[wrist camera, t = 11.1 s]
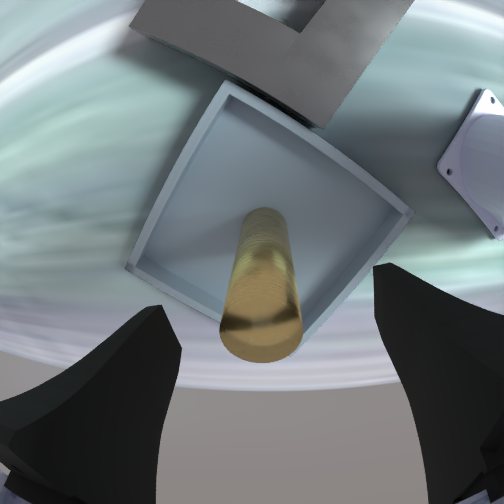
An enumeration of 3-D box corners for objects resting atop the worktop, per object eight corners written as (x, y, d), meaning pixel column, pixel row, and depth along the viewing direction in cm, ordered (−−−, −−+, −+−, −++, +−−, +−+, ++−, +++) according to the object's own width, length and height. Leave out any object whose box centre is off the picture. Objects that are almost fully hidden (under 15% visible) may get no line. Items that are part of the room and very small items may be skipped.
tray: (401, 202, 18) (415, 212, 16) (289, 338, 23) (290, 357, 21) (230, 83, 16) (225, 79, 14) (136, 254, 21) (124, 268, 19)
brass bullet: (283, 203, 18) (298, 293, 9) (290, 245, 19) (306, 357, 10) (237, 211, 19) (210, 305, 10) (246, 252, 20) (229, 366, 11)
